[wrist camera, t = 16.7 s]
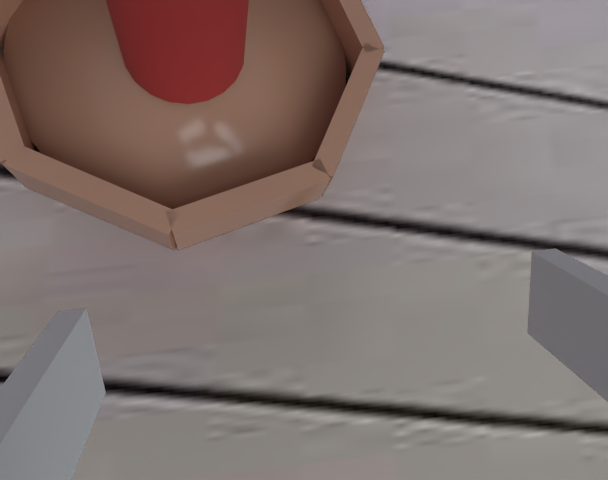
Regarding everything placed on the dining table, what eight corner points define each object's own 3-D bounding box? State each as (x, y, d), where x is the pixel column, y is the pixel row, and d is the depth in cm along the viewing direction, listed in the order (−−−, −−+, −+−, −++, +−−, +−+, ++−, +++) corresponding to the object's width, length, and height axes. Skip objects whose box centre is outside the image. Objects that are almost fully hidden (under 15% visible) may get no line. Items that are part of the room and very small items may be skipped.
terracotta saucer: (279, -107, 34) (285, -151, 32) (412, 164, 31) (432, 142, 28) (-53, -40, 30) (-82, -86, 27) (59, 293, 26) (39, 282, 23)
